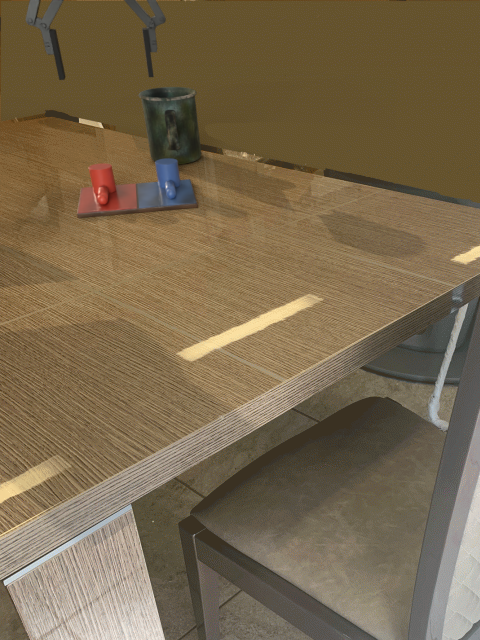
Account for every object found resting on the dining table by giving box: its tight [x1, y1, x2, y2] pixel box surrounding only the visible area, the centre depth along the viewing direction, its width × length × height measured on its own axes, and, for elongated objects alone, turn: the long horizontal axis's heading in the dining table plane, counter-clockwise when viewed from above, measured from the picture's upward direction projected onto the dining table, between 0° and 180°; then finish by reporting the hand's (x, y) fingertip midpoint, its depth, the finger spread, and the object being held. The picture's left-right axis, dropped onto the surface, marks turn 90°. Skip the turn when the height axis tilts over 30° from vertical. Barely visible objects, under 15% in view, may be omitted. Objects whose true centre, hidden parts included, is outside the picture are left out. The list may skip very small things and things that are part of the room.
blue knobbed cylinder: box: [154, 158, 181, 199], centre depth 109 cm, size 10×4×4 cm, turn 13°
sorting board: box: [76, 178, 199, 219], centre depth 109 cm, size 19×14×1 cm
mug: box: [138, 86, 202, 165], centre depth 124 cm, size 11×15×12 cm
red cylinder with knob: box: [88, 162, 117, 205], centre depth 107 cm, size 10×4×4 cm, turn 13°
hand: (107, 77), depth 102 cm, fingers open, 13 cm apart
